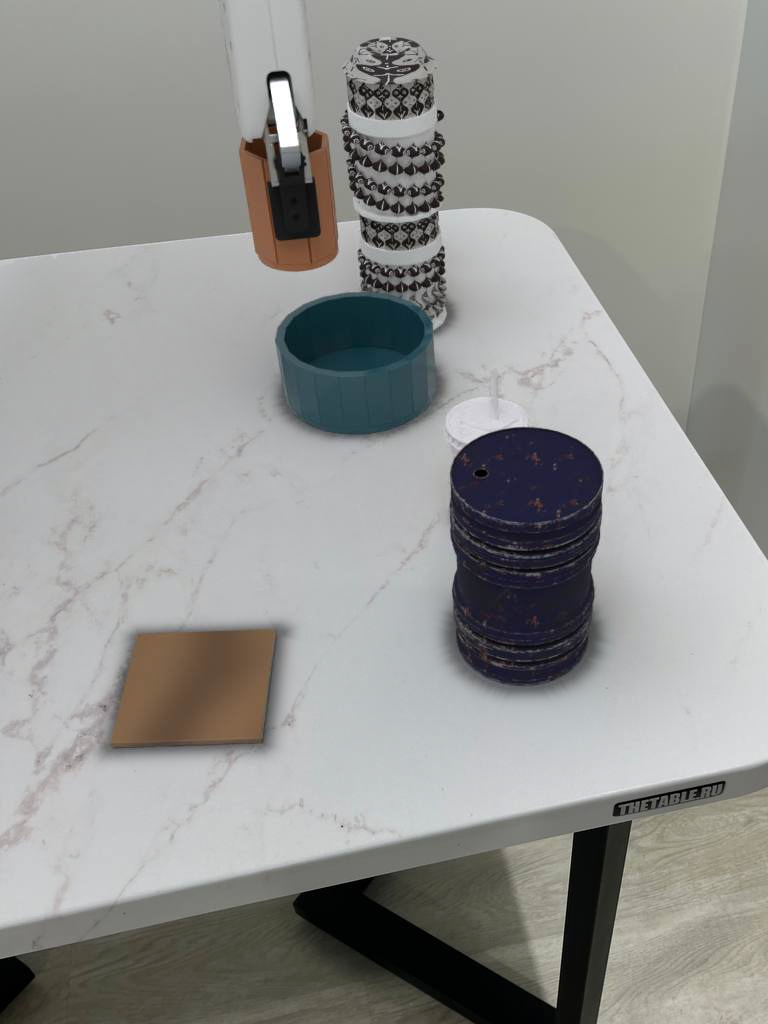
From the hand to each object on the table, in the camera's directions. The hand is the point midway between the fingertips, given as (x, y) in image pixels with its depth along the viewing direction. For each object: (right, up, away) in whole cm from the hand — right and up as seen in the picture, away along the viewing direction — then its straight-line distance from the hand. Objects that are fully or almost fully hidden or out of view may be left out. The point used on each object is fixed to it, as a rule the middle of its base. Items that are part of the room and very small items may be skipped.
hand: (292, 212), depth 76 cm
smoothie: (+14, -21, +9) cm, 27 cm away
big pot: (+3, -8, +22) cm, 23 cm away
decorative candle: (+6, +2, +31) cm, 31 cm away
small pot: (0, -2, +2) cm, 3 cm away
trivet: (-6, -34, -3) cm, 35 cm away
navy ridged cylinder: (+17, -31, +1) cm, 35 cm away
